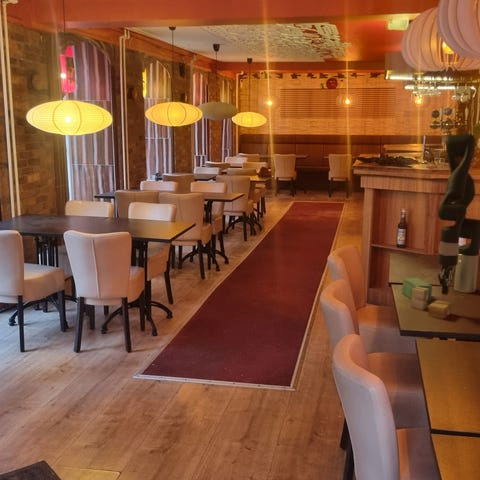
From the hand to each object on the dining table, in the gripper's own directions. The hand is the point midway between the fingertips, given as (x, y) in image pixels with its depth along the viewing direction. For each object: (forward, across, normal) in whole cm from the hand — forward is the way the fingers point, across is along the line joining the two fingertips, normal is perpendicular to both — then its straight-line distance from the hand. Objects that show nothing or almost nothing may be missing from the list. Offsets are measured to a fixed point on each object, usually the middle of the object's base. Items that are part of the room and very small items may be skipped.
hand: (444, 294), depth 247 cm
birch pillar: (+8, +1, -10) cm, 13 cm away
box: (+8, -11, -16) cm, 21 cm away
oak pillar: (+5, 0, 0) cm, 5 cm away
